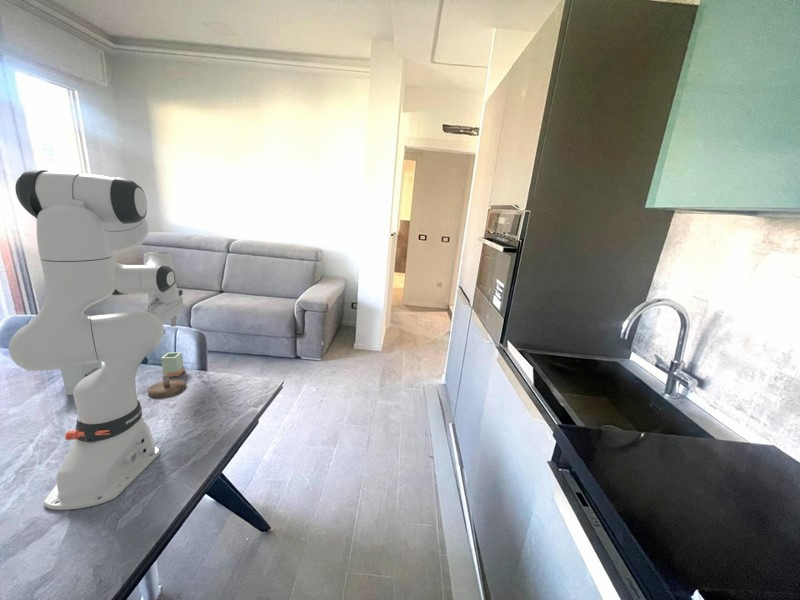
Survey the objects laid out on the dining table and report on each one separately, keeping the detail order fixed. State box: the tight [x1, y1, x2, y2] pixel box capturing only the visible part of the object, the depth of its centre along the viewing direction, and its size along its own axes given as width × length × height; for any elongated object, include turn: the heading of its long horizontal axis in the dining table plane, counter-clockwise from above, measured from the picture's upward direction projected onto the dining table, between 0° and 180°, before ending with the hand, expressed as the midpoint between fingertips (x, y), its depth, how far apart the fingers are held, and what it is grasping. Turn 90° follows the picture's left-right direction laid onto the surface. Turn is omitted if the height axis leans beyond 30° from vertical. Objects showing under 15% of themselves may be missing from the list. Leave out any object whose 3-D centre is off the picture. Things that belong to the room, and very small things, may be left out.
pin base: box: [147, 374, 186, 399], centre depth 114 cm, size 11×11×6 cm
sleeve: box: [160, 351, 185, 378], centre depth 124 cm, size 5×5×8 cm
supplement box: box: [60, 362, 103, 396], centre depth 110 cm, size 7×7×13 cm
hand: (168, 330), depth 121 cm, fingers open, 8 cm apart
